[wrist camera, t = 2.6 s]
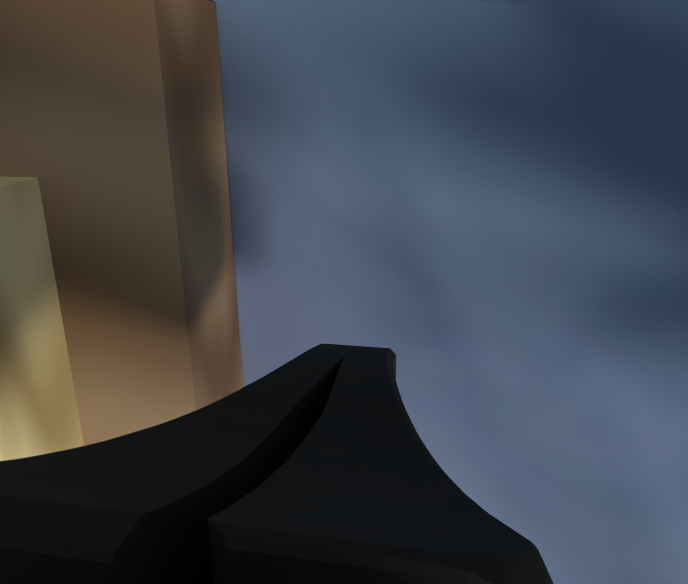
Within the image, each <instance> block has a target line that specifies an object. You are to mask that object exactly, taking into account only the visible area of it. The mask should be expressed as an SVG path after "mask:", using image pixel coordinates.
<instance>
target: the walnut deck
mask: <svg viewBox="0 0 688 584" xmlns="http://www.w3.org/2000/svg"><path fill="white" fill-rule="evenodd" d="M0 177H38V181H39V187H40V193H41V199H42V204H43V210H44V216H45V222H46V228H47V233H48V239H49V245H50V251H51V257H52V263H53V268H54V274H55V280H56V286H57V292H58V298H59V303H60V309H61V315H62V321H63V327H64V333H65V338H66V344H67V350H68V356H69V362H70V368H71V373H72V379H73V385H74V391H75V397H76V403H77V408H78V414H79V420H80V426H81V432H82V438H83V443H84V446H85V445H90V444H94V443H98V442H102V441H106V440H109V439H113V438H116V437H119V436H123V435H126V434H129V433H133V432H136V431H139V430H143V429H146V428H149V427H153V426H156V425H159V424H162V423H165V422H168V421H170V420H173V419H175V418H178V417H180V416H183V415H186V414H188V413H191V412H193V411H196V410H198V409H200V408H203V407H205V406H207V405H210V404H212V403H214V402H216V401H218V400H220V399H222V398H224V397H226V396H228V395H230V394H232V393H234V392H236V391H238V390H239V389H241V388H243V378H242V364H241V350H240V337H239V323H238V309H237V295H236V281H235V267H234V253H233V240H232V226H231V212H230V198H229V184H228V170H227V156H226V143H225V129H224V115H223V101H222V87H221V73H220V59H219V46H218V32H217V18H216V4H215V2H213V1H209V0H0Z"/></svg>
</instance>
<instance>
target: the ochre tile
mask: <svg viewBox="0 0 688 584" xmlns="http://www.w3.org/2000/svg"><path fill="white" fill-rule="evenodd" d="M81 446H84V443H83V438H82V432H81V426H80V420H79V414H78V408H77V403H76V397H75V391H74V385H73V379H72V373H71V368H70V362H69V356H68V350H67V344H66V338H65V333H64V327H63V321H62V315H61V309H60V303H59V298H58V292H57V286H56V280H55V274H54V268H53V263H52V257H51V251H50V245H49V239H48V233H47V228H46V222H45V216H44V210H43V204H42V199H41V193H40V187H39V181H38V177H0V461H6V460H13V459H20V458H26V457H32V456H37V455H43V454H48V453H53V452H58V451H63V450H68V449H72V448H77V447H81Z"/></svg>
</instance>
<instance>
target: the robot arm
mask: <svg viewBox="0 0 688 584" xmlns="http://www.w3.org/2000/svg"><path fill="white" fill-rule="evenodd" d="M0 584H553V582H552V580H551V577H550V575H549V573H548V570H547V568H546V566H545V564H544V561H543V559H542V557H541V555H540V553H539V551H538V549H537V548H536V546H535V545H534V544H533V543H532V542H531V541H529V540H528V539H526V538H525V537H523V536H522V535H520V534H519V533H517V532H516V531H514V530H513V529H511V528H510V527H508V526H507V525H505V524H504V523H502V522H501V521H499V520H498V519H496V518H495V517H493V516H492V515H490V514H489V513H487V512H486V511H485V510H483V509H482V508H481V507H480V506H479V505H478V504H476V503H475V502H474V501H473V500H472V499H470V498H469V497H468V496H467V495H466V494H465V493H463V492H462V490H461V489H460V488H459V487H458V486H457V485H456V484H455V483H454V482H453V481H452V480H451V479H450V478H449V477H448V476H447V475H446V474H445V472H444V471H443V470H442V469H441V467H440V466H439V465H438V463H437V462H436V461H435V459H434V458H433V457H432V455H431V454H430V452H429V451H428V449H427V448H426V446H425V445H424V443H423V442H422V440H421V439H420V437H419V435H418V433H417V432H416V430H415V428H414V426H413V424H412V422H411V420H410V418H409V416H408V414H407V412H406V409H405V407H404V404H403V402H402V399H401V396H400V393H399V390H398V387H397V384H396V355H395V353H394V352H393V351H392V350H391V349H390V348H378V347H364V346H349V345H335V344H320V345H317V346H315V347H313V348H312V349H310V350H308V351H306V352H304V353H303V354H301V355H299V356H298V357H296V358H294V359H293V360H291V361H289V362H288V363H286V364H284V365H283V366H281V367H279V368H277V369H276V370H274V371H272V372H271V373H269V374H267V375H266V376H264V377H262V378H260V379H259V380H257V381H255V382H253V383H251V384H249V385H247V386H245V387H243V388H241V389H239V390H238V391H236V392H234V393H232V394H230V395H228V396H226V397H224V398H222V399H220V400H218V401H216V402H214V403H212V404H210V405H207V406H205V407H203V408H200V409H198V410H196V411H193V412H191V413H188V414H186V415H183V416H180V417H178V418H175V419H173V420H170V421H168V422H165V423H162V424H159V425H156V426H153V427H149V428H146V429H143V430H139V431H136V432H133V433H129V434H126V435H123V436H119V437H116V438H113V439H109V440H106V441H102V442H98V443H94V444H90V445H85V446H81V447H77V448H72V449H68V450H63V451H58V452H53V453H48V454H43V455H37V456H32V457H26V458H20V459H13V460H6V461H0Z"/></svg>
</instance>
